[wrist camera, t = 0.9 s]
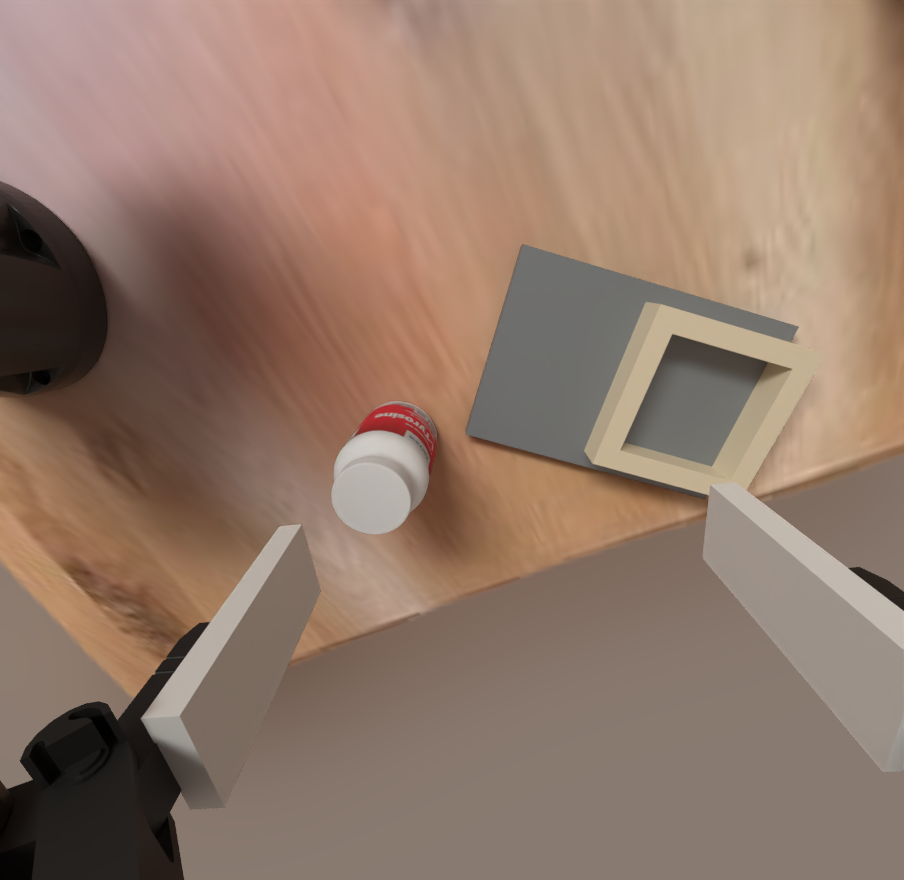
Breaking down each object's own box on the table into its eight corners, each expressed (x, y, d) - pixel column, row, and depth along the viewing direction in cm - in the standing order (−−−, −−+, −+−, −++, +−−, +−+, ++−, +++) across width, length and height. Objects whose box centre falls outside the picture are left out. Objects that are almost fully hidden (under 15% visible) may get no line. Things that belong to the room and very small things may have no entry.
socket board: (465, 429, 35) (465, 446, 31) (521, 245, 30) (528, 241, 26) (705, 494, 36) (730, 517, 32) (796, 327, 31) (837, 334, 28)
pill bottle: (452, 424, 35) (444, 487, 24) (414, 482, 37) (392, 563, 26) (384, 384, 34) (347, 431, 23) (349, 445, 36) (300, 514, 25)
